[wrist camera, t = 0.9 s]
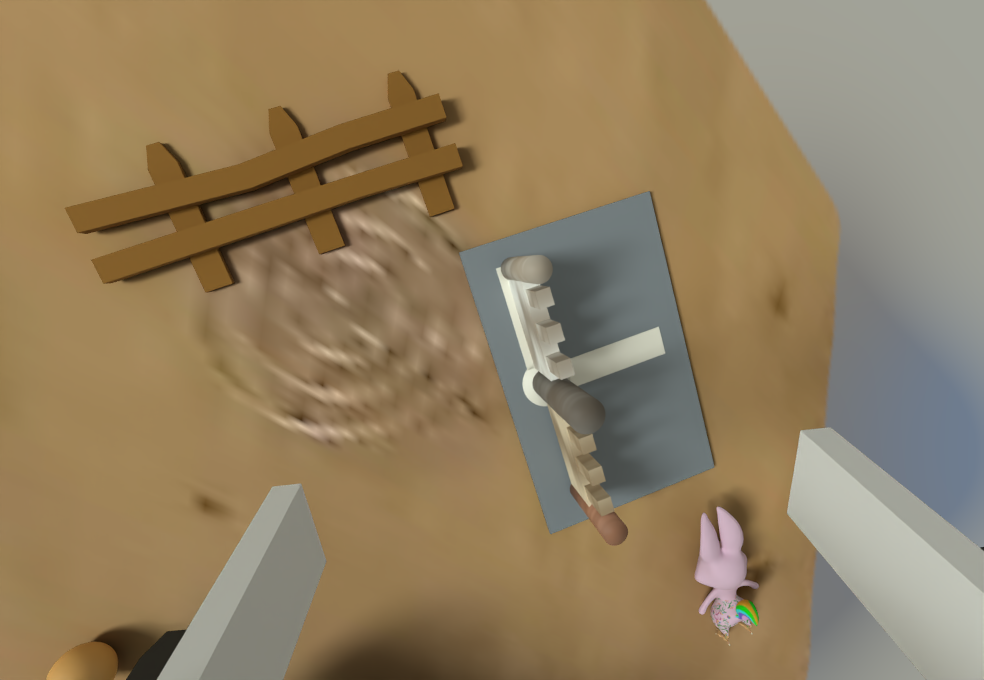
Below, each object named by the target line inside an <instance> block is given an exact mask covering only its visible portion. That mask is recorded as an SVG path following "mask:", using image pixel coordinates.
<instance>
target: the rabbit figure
mask: <svg viewBox="0 0 984 680" xmlns="http://www.w3.org/2000/svg"><path fill="white" fill-rule="evenodd" d="M717 515H718V525H719V532H720V539H721V541H719V540H718V537H717V533H716V531H715V528H714V526H713V525H712V523H711V522H710V520H709V518H708V517H707V515H706V514H705V513H703V514H702V517H701V542H700V555H699V558H698V563H697V567H696V571H695V579H696V580H697V581H698V582H700V583H701V584H704V585H707V586H710V587H713V590H712V591H711V592H710V593H709V595H708V596H707V597H706V599H705V600H704V602H703V603H702V605H701V606H700V608H699V613H700V614H704V613H705V612H706V609H707V607H708V605H709V604H710V603H711V602H712V601H713V600H714V599H715V598H716V599H715V601H714V603H713V605H712V607H711V611H710V613H711V618H712V620H713V622H714V624H715V625H716V626H717V627H718V628H719V629H720V630H719V629H717V630H718V631H719V633H717V632H716V634H718V636H720V637H722V638H723V639H724V640H725V641H727V642H728V640H727V639H729V634H728V632H729V629H730V627H732V626H734V625H736V624H740V625H742V626H743V627H745V628H746V629H747V630H749V631H750V629H749V628H750V627H752V624H751V622H750V620H751V621H752V622H753V623H754V624H755V625H756V626H757V625H758V622H759V617H758V613H757V610H756V608H755V606H754V604H753V602H751V601H749V600H744V599H743V598H741V597H739V596H738V595H736V591H737V589H738V588H739V587H740V586H750V587H752V588H754V589H757V588H758V587H759V585H758V584H757V583H756V582H753V581H750V580H745V577H746V573H747V567H746V566H747V557H746V555H745V554H744V553H743V552H742V551H741V547H742V544H743V539H744V538H743V532H742V529H741V527H740V525H739V523H738V522H737V521H736V519H735V518H734V517H733V516H732V515H731V514H729V513H728V512H727V511H726V510H725V509H723V508H722V507H717ZM740 621H741V622H740ZM738 622H740V623H738ZM750 633H751V634H752V632H751V631H750ZM752 635H753V634H752ZM728 644H729V645H730V643H729V642H728Z"/></svg>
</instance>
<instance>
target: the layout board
mask: <svg viewBox="0 0 984 680" xmlns="http://www.w3.org/2000/svg"><path fill="white" fill-rule="evenodd" d="M459 255H460V258H461V261H462V264H463V267H464V270H465V273H466V276H467V279H468V282H469V285H470V289H471V292H472V295H473V298H474V301H475V304H476V307H477V310H478V313H479V316H480V319H481V322H482V326H483V329H484V332H485V335H486V338H487V341H488V344H489V347H490V350H491V353H492V356H493V359H494V363H495V366H496V369H497V372H498V375H499V378H500V381H501V384H502V387H503V390H504V393H505V396H506V399H507V403H508V406H509V409H510V412H511V415H512V418H513V421H514V424H515V427H516V430H517V433H518V436H519V440H520V443H521V446H522V449H523V452H524V455H525V458H526V461H527V464H528V467H529V470H530V473H531V477H532V480H533V483H534V486H535V489H536V492H537V495H538V498H539V501H540V504H541V507H542V510H543V514H544V517H545V520H546V523H547V526H548V529H549V532H550V534H552V533H555V532H557V531H560V530H562V529H565V528H567V527H569V526H572V525H574V524H577V523H579V522H582V521H584V520H587V519H589V518H588V517H587V515H586V514H585V512H584V511H583V510H582V508H581V507H580V506H579V504H578V503H577V501H576V500H575V499H574V497H573V496H572V495H571V493H570V486H571V481H570V478H569V474H568V471H567V468H566V465H565V461H564V458H563V455H562V451H561V448H560V445H559V442H558V438H557V435H556V432H555V429H554V425H553V422H552V419H551V416H550V412H549V409H548V406H547V403H546V402H545V401H544V400H543V399H542V398H541V397H540V396H539V395H538V394H537V393H536V392H535V391H534V389H533V385H532V382H533V378H534V376H535V374H536V373H537V372H538V370H537V369H535V367H534V364H533V361H532V358H531V354H530V351H529V348H528V345H527V341H526V338H525V335H524V332H523V328H522V325H521V322H520V319H519V315H518V312H517V309H516V306H515V302H514V299H513V296H512V293H511V289H510V286H509V283H508V280H507V279H506V278H504V277H503V275H502V273H501V264H502V262H503V261H504V260H505V259H507V258H509V257H518V256H531V255H543V256H545V257H547V258H548V259H549V260H550V261H551V263H552V267H553V272H552V275H551V277H550V279H549V280H548V281H547V282H545V283H543V284H540V285H541V286H548V287H550V290H551V293H552V297H553V300H554V304H555V305H552V306H550V307H547V310H548V313H549V316H550V319H551V320H553V321H556V322H559V323H560V324H561V328H562V331H563V335H564V338H565V341H562V342H559V343H557V344H558V347H559V350H560V353H562V354H564V355H566V356H567V357H569V358H570V359H571V362H572V366H573V369H574V373H575V375H573V376H571V377H568V378H567V379H568V380H570V381H571V382H572V383H574V384H575V385H577V386H578V387H580V388H581V389H583V390H584V391H585V392H587V393H588V394H590V395H591V396H593V397H594V398H595V399H597V400H598V401H600V402H601V403H602V405H603V406H604V409H605V414H606V415H605V421H604V423H603V425H602V426H601V428H600V429H599V430H597V431H596V432H594V433H592V435H593V438H594V442H595V445H596V449H597V450H595V451H593V452H590V455H591V456H592V457H593V458H594V459H595V460H596V461H597V462H598V463H599V464H600V465H601V466H602V469H603V473H604V476H605V480H606V481H605V482H602V483H600V486H601V487H602V488H603V489H604V490H605V491H606V492H607V493H608V495H609V496H610V497H611V501H612V504H613V507H614V508H616V507H618V506H621V505H623V504H626V503H628V502H631V501H633V500H636V499H638V498H640V497H643V496H645V495H648V494H650V493H653V492H655V491H658V490H660V489H662V488H665V487H667V486H670V485H672V484H675V483H677V482H680V481H682V480H684V479H687V478H689V477H692V476H694V475H697V474H699V473H702V472H704V471H706V470H709V469H711V468H714V463H713V459H712V455H711V450H710V446H709V442H708V438H707V433H706V429H705V425H704V421H703V416H702V412H701V408H700V404H699V399H698V395H697V391H696V387H695V382H694V378H693V374H692V370H691V365H690V361H689V357H688V353H687V348H686V344H685V340H684V336H683V331H682V327H681V323H680V319H679V314H678V310H677V306H676V302H675V297H674V293H673V289H672V285H671V280H670V276H669V272H668V268H667V263H666V259H665V255H664V250H663V246H662V242H661V238H660V233H659V229H658V225H657V221H656V216H655V212H654V208H653V204H652V199H651V195H650V191H648V192H645V193H642V194H639V195H636V196H633V197H630V198H627V199H624V200H620V201H617V202H614V203H611V204H608V205H605V206H602V207H599V208H596V209H593V210H590V211H586V212H583V213H580V214H577V215H574V216H571V217H568V218H565V219H562V220H559V221H556V222H552V223H549V224H546V225H543V226H540V227H537V228H534V229H531V230H528V231H525V232H522V233H518V234H515V235H512V236H509V237H506V238H503V239H500V240H497V241H494V242H491V243H488V244H484V245H481V246H478V247H475V248H472V249H469V250H466V251H463V252H460V253H459Z"/></svg>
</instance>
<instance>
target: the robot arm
mask: <svg viewBox="0 0 984 680" xmlns="http://www.w3.org/2000/svg"><path fill="white" fill-rule="evenodd" d="M787 514H788V515H789V516H790V518H791V519H792V520H793V521H794V522H795V524H796V525H797V526H798V527H799V528H800V530H801V531H802V532H803V533H804V534H805V536H806V537H807V538H808V539H809V540H810V542H811V543H812V544H813V545H814V546H815V548H816V549H817V550H818V551H819V552H820V553H821V555H822V556H823V557H824V558H825V559H826V561H827V562H828V563H829V564H830V565H831V567H832V568H833V569H834V570H835V571H836V573H837V574H838V575H839V576H840V577H841V579H842V580H843V581H844V582H845V583H846V585H847V586H848V587H849V588H850V589H851V590H852V592H853V593H854V594H855V595H856V597H857V598H858V599H859V600H860V601H861V602H862V604H863V605H864V606H865V607H866V608H867V610H868V611H869V612H870V613H871V615H872V616H873V617H874V618H875V619H876V620H877V622H878V623H879V624H880V625H881V627H882V628H883V629H884V630H885V631H886V632H887V634H888V635H889V636H890V637H891V638H892V640H893V641H894V642H895V643H896V644H897V645H898V647H899V648H900V649H901V650H902V652H903V653H904V654H905V655H906V656H907V658H908V659H909V660H910V661H911V662H912V664H913V665H914V666H915V667H916V668H917V670H918V671H919V672H920V673H921V674H922V676H923V677H924V678H925V679H926V680H984V547H981V548H979V547H978V546H977V545H976V544H974V543H973V542H972V541H971V540H969V539H968V538H967V537H966V536H965V535H963V534H962V533H961V532H960V531H958V530H957V529H956V528H955V527H953V526H952V525H951V524H950V523H948V522H947V521H946V520H945V519H943V518H942V517H941V516H940V515H938V514H937V513H936V512H935V511H933V510H932V509H931V508H930V507H929V506H927V505H926V504H925V503H924V502H922V501H921V500H920V499H918V498H917V497H916V496H915V495H913V494H912V493H911V492H910V491H909V490H907V489H906V488H905V487H904V486H902V485H901V484H900V483H899V482H897V481H896V480H895V479H894V478H893V477H891V476H890V475H889V474H887V473H886V472H885V471H884V470H882V469H881V468H880V467H879V466H877V465H876V464H875V463H874V462H873V461H871V460H870V459H869V458H868V457H866V456H865V455H864V454H863V453H861V452H860V451H859V450H858V449H857V448H855V447H854V446H853V445H851V444H850V443H849V442H848V441H847V440H845V439H844V438H843V437H841V436H840V435H839V434H838V433H837V432H835V431H834V430H833V429H832V428H830V427H829V428H820V429H811V430H801V431H800V437H799V444H798V450H797V456H796V462H795V468H794V474H793V480H792V486H791V492H790V498H789V504H788V510H787ZM325 563H326V559H325V555H324V552H323V549H322V546H321V543H320V540H319V537H318V534H317V531H316V528H315V525H314V522H313V519H312V515H311V512H310V509H309V506H308V503H307V500H306V497H305V494H304V491H303V488H302V485H301V484H293V485H284V486H275V487H272V488H271V490H270V492H269V493H268V495H267V497H266V498H265V500H264V502H263V503H262V505H261V507H260V508H259V510H258V512H257V513H256V515H255V517H254V518H253V520H252V522H251V523H250V525H249V527H248V528H247V530H246V532H245V533H244V535H243V537H242V538H241V540H240V542H239V543H238V545H237V547H236V548H235V550H234V552H233V553H232V555H231V557H230V558H229V560H228V562H227V563H226V565H225V567H224V568H223V570H222V572H221V573H220V575H219V577H218V578H217V580H216V582H215V583H214V585H213V587H212V588H211V590H210V592H209V593H208V595H207V597H206V598H205V600H204V602H203V603H202V605H201V607H200V608H199V610H198V612H197V613H196V615H195V617H194V618H193V620H192V622H191V623H190V625H189V627H188V628H187V630H178V631H168V632H166V633H165V634H164V635H163V636H162V637H161V638H160V639H159V640H158V641H157V642H156V643H155V644H154V645H153V646H152V647H151V648H150V649H149V650H148V651H147V652H146V653H145V654H144V655H143V656H142V657H141V658H140V659H139V661H138V662H137V664H136V665H135V667H134V668H133V670H132V672H131V673H130V675H129V676H128V678H127V679H126V680H283V679H284V676H285V673H286V670H287V668H288V665H289V662H290V659H291V657H292V654H293V651H294V648H295V646H296V643H297V640H298V637H299V635H300V632H301V629H302V626H303V624H304V621H305V618H306V615H307V613H308V610H309V607H310V604H311V602H312V599H313V596H314V593H315V591H316V588H317V585H318V583H319V580H320V577H321V574H322V572H323V569H324V566H325Z"/></svg>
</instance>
